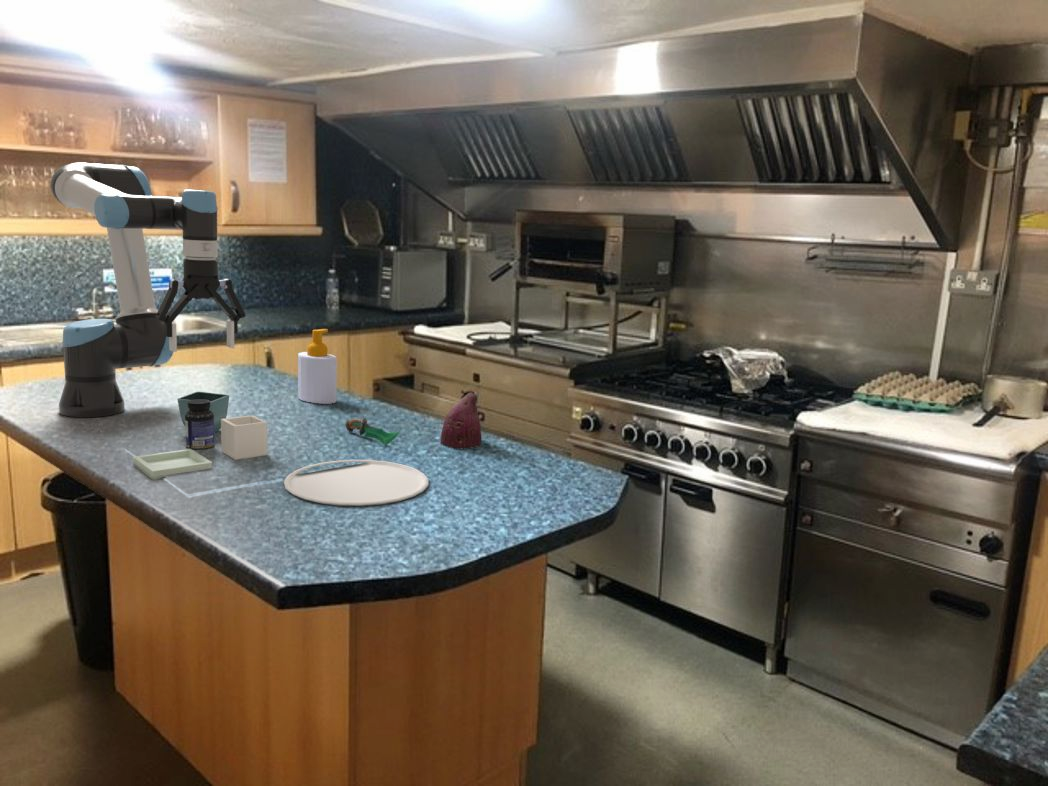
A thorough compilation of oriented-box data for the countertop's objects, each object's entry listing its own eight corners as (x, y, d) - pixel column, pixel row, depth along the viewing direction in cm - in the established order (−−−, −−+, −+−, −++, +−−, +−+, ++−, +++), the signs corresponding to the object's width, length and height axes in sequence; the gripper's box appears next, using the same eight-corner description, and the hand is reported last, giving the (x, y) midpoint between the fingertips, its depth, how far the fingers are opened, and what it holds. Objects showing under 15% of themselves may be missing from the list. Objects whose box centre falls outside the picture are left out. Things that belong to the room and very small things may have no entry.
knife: (343, 432, 215) (343, 412, 214) (349, 431, 217) (349, 411, 216) (396, 451, 201) (397, 430, 200) (403, 450, 203) (403, 429, 202)
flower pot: (211, 438, 203) (210, 401, 201) (177, 435, 204) (176, 398, 203) (230, 430, 211) (230, 394, 209) (198, 426, 213) (197, 391, 211)
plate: (361, 520, 157) (361, 514, 157) (252, 487, 172) (252, 481, 171) (457, 483, 181) (457, 477, 181) (353, 456, 196) (354, 451, 196)
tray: (133, 464, 180) (133, 456, 180) (190, 456, 188) (190, 448, 188) (152, 480, 172) (152, 471, 171) (212, 470, 179) (212, 462, 179)
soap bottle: (344, 401, 248) (344, 331, 244) (323, 406, 241) (323, 334, 237) (311, 394, 255) (311, 326, 250) (290, 398, 248) (289, 328, 244)
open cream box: (221, 453, 191) (220, 419, 190) (253, 449, 196) (252, 415, 194) (235, 462, 186) (234, 426, 184) (267, 457, 191) (267, 422, 189)
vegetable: (485, 454, 214) (504, 398, 211) (465, 458, 204) (485, 400, 201) (450, 437, 218) (469, 382, 215) (429, 441, 208) (449, 383, 205)
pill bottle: (220, 447, 196) (219, 400, 194) (202, 454, 191) (201, 405, 188) (198, 443, 198) (197, 397, 196) (179, 450, 193) (178, 402, 190)
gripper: (150, 259, 188) (153, 355, 192) (259, 260, 204) (259, 348, 209) (138, 256, 193) (142, 349, 198) (245, 257, 210) (246, 343, 214)
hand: (202, 349), depth 203 cm, fingers open, 13 cm apart
